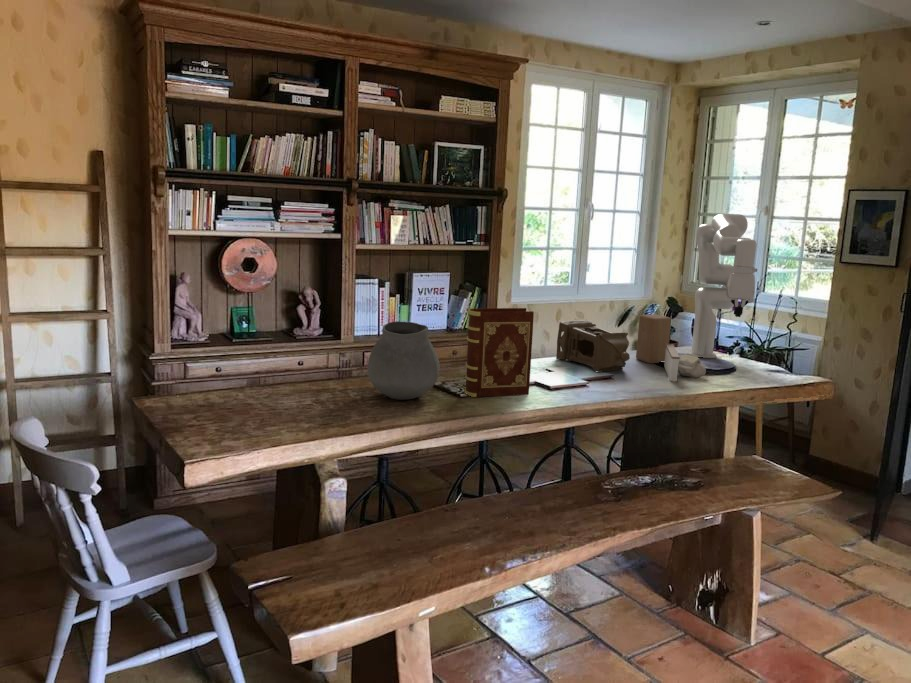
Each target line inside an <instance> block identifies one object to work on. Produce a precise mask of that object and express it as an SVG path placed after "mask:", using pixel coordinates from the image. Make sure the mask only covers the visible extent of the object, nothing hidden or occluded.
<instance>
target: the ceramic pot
mask: <svg viewBox="0 0 911 683" xmlns="http://www.w3.org/2000/svg"><path fill="white" fill-rule="evenodd" d="M381 331H382V334H381V336H380V338H379V339H378V340H377V342H375V344H374V346H373V348H372V350H371V351H370V355H369V356H368V357H369V358H368V361H367V376H368V379H369V381H370V382H371V384H372V386H373V387H375V389H377V390H378V391H379V392H380V393H382V394H383V395H385V396H386V397H389V398H390V399H393V400H398V401H399V400H400V401H402V400H403V401H405V400H412V399H416V398H418V397H420V396H422V395H424V394H426V393H427V392H428V391H430V390H431V389H432V388H433V387H434V386H435V384H436V383H437V381H438V379H439V375H440V367H441V366H440V360H439V356H438V355H437V352H436V350H435V348H434V345H433V344H432V342H431V340H430V339H429V327H428V326H427V325H426V324H425V325H424V324H419V323H417V322H411V321H399V320H398V321H391V322H387V323H385V324H384V325H383V326H382V330H381Z"/></svg>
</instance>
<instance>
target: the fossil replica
mask: <svg viewBox="0 0 911 683" xmlns="http://www.w3.org/2000/svg"><path fill="white" fill-rule="evenodd" d="M679 357H680V359H679V363H678V373H679V375H680V376H684V377H688V378H689V377H690V378H693V379H694V378H695V379H697V378H701V377H703V376H705V374H706V373H707V371H706V370H707V369H706V365H705V364H703V363H702V361H701V358H698V357H695V356H690V355H688V354H683V355H679Z"/></svg>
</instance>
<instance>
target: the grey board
mask: <svg viewBox="0 0 911 683" xmlns="http://www.w3.org/2000/svg"><path fill="white" fill-rule="evenodd" d="M679 356H680V355H679V353H678V351H677V349H676V347H675V345H674V344H673V343H669V344H666V353H665V362H663V365H664V366H663V367H664V369H665V372H666V374H667V378H668V379H669V381H670V382H677V381H678V380H677V379H678V373H679V372H678V363H679V359H680V357H679Z"/></svg>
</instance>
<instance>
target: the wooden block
mask: <svg viewBox="0 0 911 683" xmlns="http://www.w3.org/2000/svg"><path fill="white" fill-rule="evenodd" d="M638 320H639V321H638V329H637V330H638V331H637V342H636V352H635V353H636V354H635V358H636V359H637V360H638V361H642V362H644V363H647V364H660V363H659V362H661V361H665V353H666V344H670V334H671V326H672V318H671V317H669V316H665V315H662V314H657V313H653V314H641V315H639V319H638Z"/></svg>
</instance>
